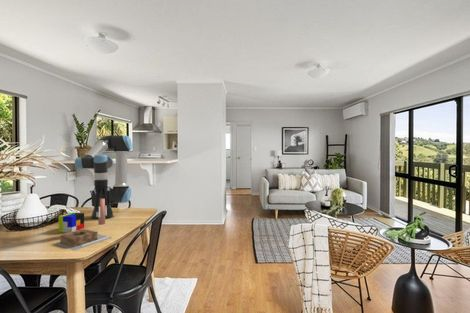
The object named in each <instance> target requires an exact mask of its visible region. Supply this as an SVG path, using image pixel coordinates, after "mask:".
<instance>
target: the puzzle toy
mask: <svg viewBox="0 0 470 313" xmlns="http://www.w3.org/2000/svg"><path fill="white" fill-rule="evenodd" d="M82 229H85V213H84V212H69V213H66V214H65V213H64V214H62V215H58V232H59V233H71V232H74V231H78V230H82Z"/></svg>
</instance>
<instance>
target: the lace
mask: <svg viewBox="0 0 470 313" xmlns="http://www.w3.org/2000/svg"><path fill="white" fill-rule="evenodd" d="M109 237H110V236H108V237H105V238H102V239H99V240H96V241H93V242H90V243H87V244H84V245H81V246H85V245H88V244H91V243H94V242H97V241H100V240H103V239H106V238H109Z"/></svg>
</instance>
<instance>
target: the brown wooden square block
mask: <svg viewBox="0 0 470 313" xmlns="http://www.w3.org/2000/svg"><path fill="white" fill-rule="evenodd" d="M97 234H98V231H95V230H94V231H93V230H91V229H86V228H83V229H80V230H77V231H73V232H66V233H64V234H59V236H60V237H59V238H60V241H59V242H60V243H61V244H65V245H68V246H72V247H77V246H80V245H83V244H86V243H89V242H92V241H95V240H98V239H97Z"/></svg>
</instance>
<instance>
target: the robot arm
mask: <svg viewBox="0 0 470 313" xmlns="http://www.w3.org/2000/svg"><path fill="white" fill-rule="evenodd" d="M132 149H133V144H132V139H131V137H130V136H129V135H124V134H122V135H117V134H116V135H112V134H108V135H104V136H102V137H100V138H99V139H97V140H96V141H95V143H94V144H93V146H92V147H91V148H90V149H89V150H88V151H87V152H86V153H85V154H84V155H83V156H79V157H76V158H75V159H74V168H76V169H78V170H79V169H82V170H84V169H85V170H86V169H87V170H90V169H91V170H92V169H93V174H94V175H93V176H94V182H93V183H94V184H93V185H94V189H93V190H90V191H89V192H90V196H91V197H90V198H91V207H93V210H92V213H91V219H94V220H98V217H100V207H99V202H100V198H105V219H109V218H112V217H113V216H114V212H113V210H112V205H111V204H124V203H128V202H130V198H131V196H132V188H131V187H129V186H130V185H129V184H128V154H129V153H130V151H132ZM111 150H112V151H113V153H114V154H115V161H114V159H113V158H112V157H109V156H108V155H107V154H103V153H104V152H106V151H111ZM114 164H115V174H114V175H115V178H114V179H115V181H114V184H113V186H112V187H111V186H108V182H109V180H108V176H109V174H108V173H109V172H108V169H110V168H112V167H113V166H114Z"/></svg>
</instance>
